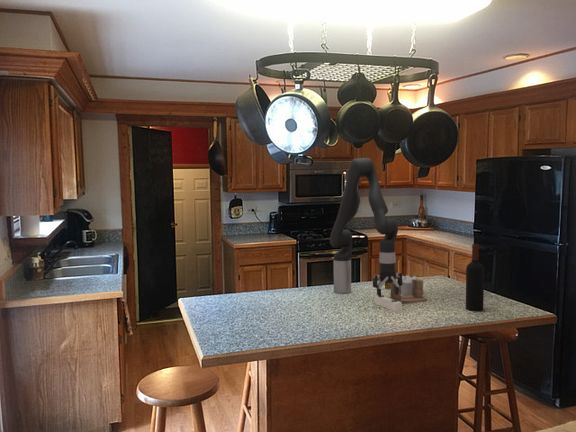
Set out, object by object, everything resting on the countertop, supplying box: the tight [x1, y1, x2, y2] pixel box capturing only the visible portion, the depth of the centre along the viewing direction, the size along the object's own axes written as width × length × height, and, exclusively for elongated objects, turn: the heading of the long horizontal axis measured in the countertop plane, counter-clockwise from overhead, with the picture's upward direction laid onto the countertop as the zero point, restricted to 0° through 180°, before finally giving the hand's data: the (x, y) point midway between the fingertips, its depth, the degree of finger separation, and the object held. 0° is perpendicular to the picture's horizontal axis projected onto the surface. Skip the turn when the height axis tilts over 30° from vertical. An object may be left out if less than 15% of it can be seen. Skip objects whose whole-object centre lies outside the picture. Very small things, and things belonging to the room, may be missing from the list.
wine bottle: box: [465, 243, 485, 312], centre depth 219 cm, size 8×8×30 cm
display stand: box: [387, 278, 428, 305], centre depth 238 cm, size 10×17×10 cm, turn 106°
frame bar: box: [374, 294, 403, 312], centre depth 227 cm, size 16×4×4 cm, turn 26°
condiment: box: [381, 271, 397, 290], centre depth 263 cm, size 7×8×12 cm
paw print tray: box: [396, 275, 418, 295], centre depth 252 cm, size 10×13×9 cm
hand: (387, 295), depth 227 cm, fingers open, 8 cm apart
